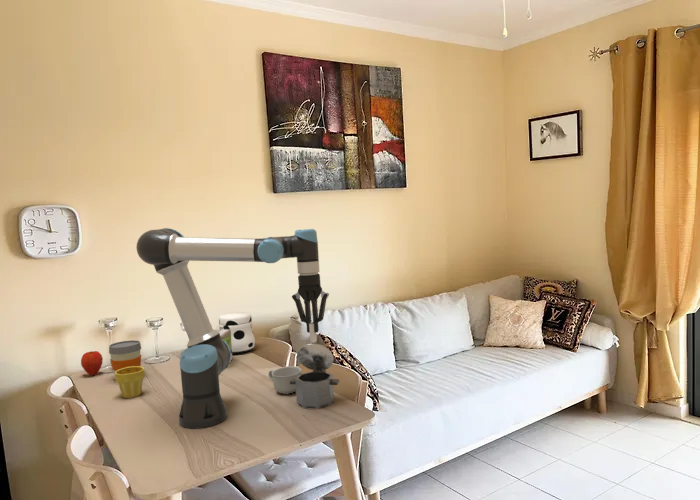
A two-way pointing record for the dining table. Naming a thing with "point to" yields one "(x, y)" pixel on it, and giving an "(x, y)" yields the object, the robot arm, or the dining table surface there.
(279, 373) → the teacup
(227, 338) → the tea box
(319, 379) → the cooker
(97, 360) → the apple
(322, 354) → the lid
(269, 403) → the dining table surface
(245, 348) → the milk container
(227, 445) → the dining table surface
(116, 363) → the reusable coffee cup
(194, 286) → the robot arm
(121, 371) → the plant pot
